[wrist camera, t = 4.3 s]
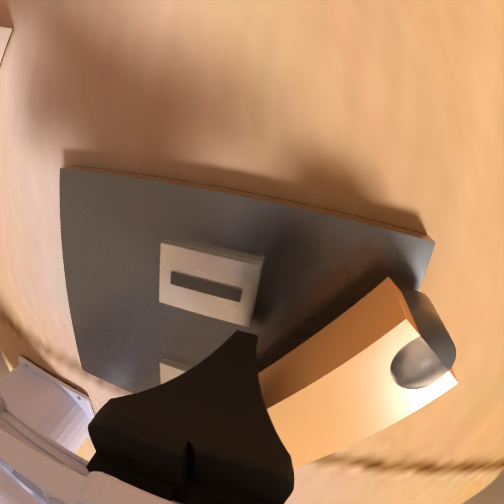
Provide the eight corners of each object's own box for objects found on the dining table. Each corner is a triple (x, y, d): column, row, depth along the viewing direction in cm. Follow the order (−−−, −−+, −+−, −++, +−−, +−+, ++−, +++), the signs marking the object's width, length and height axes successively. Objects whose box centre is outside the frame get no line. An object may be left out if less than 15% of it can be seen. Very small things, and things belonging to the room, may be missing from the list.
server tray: (97, 394, 21) (87, 406, 20) (72, 165, 14) (52, 170, 13) (317, 463, 19) (316, 480, 17) (428, 235, 12) (440, 247, 10)
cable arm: (201, 462, 18) (187, 494, 15) (156, 432, 18) (138, 464, 15) (450, 327, 11) (473, 371, 8) (402, 264, 11) (424, 304, 8)
